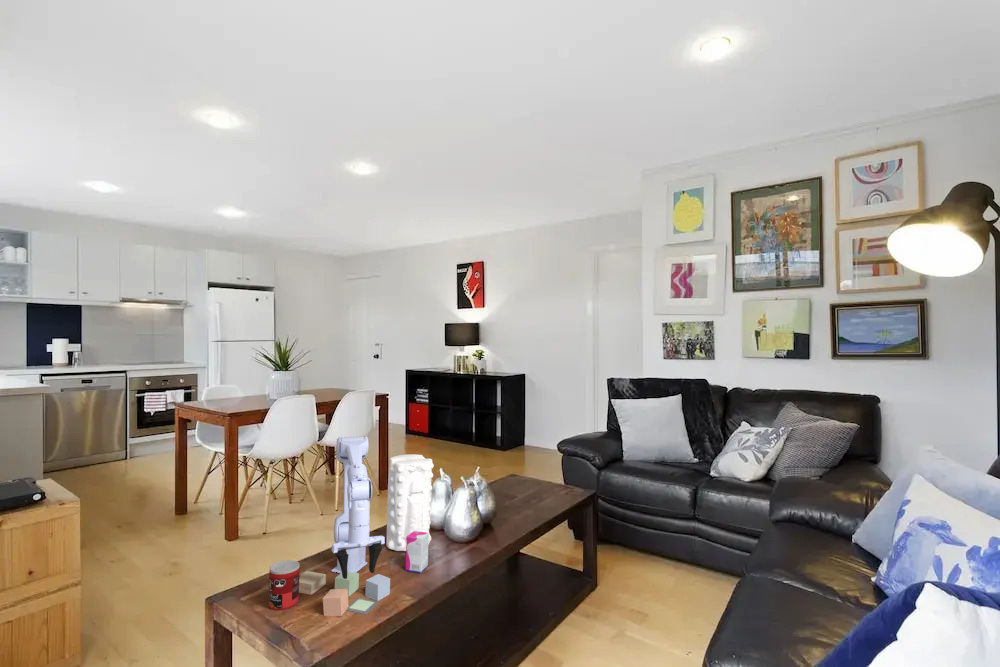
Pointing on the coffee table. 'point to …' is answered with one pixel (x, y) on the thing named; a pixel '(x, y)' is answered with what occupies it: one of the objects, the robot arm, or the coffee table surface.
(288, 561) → the canned food
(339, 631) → the coffee table surface
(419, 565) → the supplement box
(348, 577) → the sage cube
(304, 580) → the maple slab
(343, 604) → the terracotta cube
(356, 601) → the tile
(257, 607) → the coffee table surface
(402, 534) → the vase
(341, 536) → the robot arm
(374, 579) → the slate blue cube
